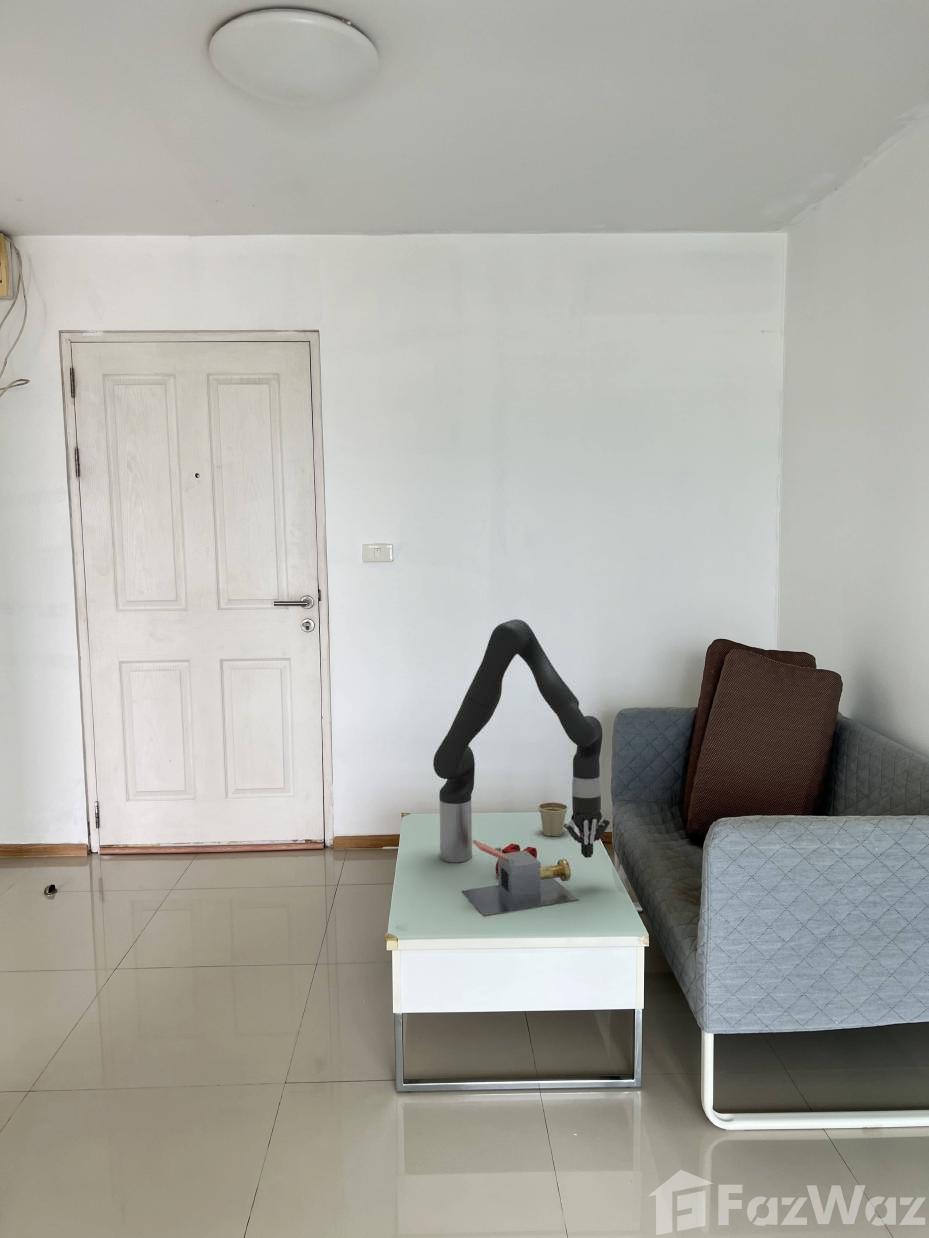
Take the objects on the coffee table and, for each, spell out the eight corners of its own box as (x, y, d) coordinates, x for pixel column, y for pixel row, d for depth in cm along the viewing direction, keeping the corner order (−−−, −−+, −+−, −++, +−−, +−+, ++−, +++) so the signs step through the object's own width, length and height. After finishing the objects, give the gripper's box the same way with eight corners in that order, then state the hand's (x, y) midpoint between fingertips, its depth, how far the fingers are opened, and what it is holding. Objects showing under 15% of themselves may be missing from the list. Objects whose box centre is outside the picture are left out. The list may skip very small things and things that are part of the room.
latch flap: (471, 841, 222) (473, 838, 222) (499, 854, 225) (501, 851, 225) (481, 851, 215) (483, 847, 216) (510, 864, 219) (512, 860, 219)
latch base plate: (461, 891, 227) (460, 848, 226) (551, 877, 236) (551, 835, 235) (483, 916, 212) (483, 869, 211) (578, 900, 221) (578, 855, 220)
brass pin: (511, 884, 226) (511, 863, 226) (561, 876, 231) (561, 855, 231) (519, 892, 221) (519, 871, 220) (570, 884, 226) (570, 863, 225)
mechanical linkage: (514, 858, 252) (514, 841, 251) (537, 862, 248) (536, 845, 247) (488, 876, 238) (487, 858, 237) (511, 881, 234) (510, 863, 234)
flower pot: (573, 831, 273) (573, 804, 272) (560, 840, 265) (560, 812, 264) (546, 826, 278) (546, 800, 277) (532, 835, 270) (532, 808, 269)
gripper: (601, 786, 234) (602, 848, 236) (557, 791, 230) (558, 855, 231) (615, 793, 227) (616, 857, 229) (570, 799, 223) (571, 865, 224)
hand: (587, 856), depth 230 cm, fingers closed
